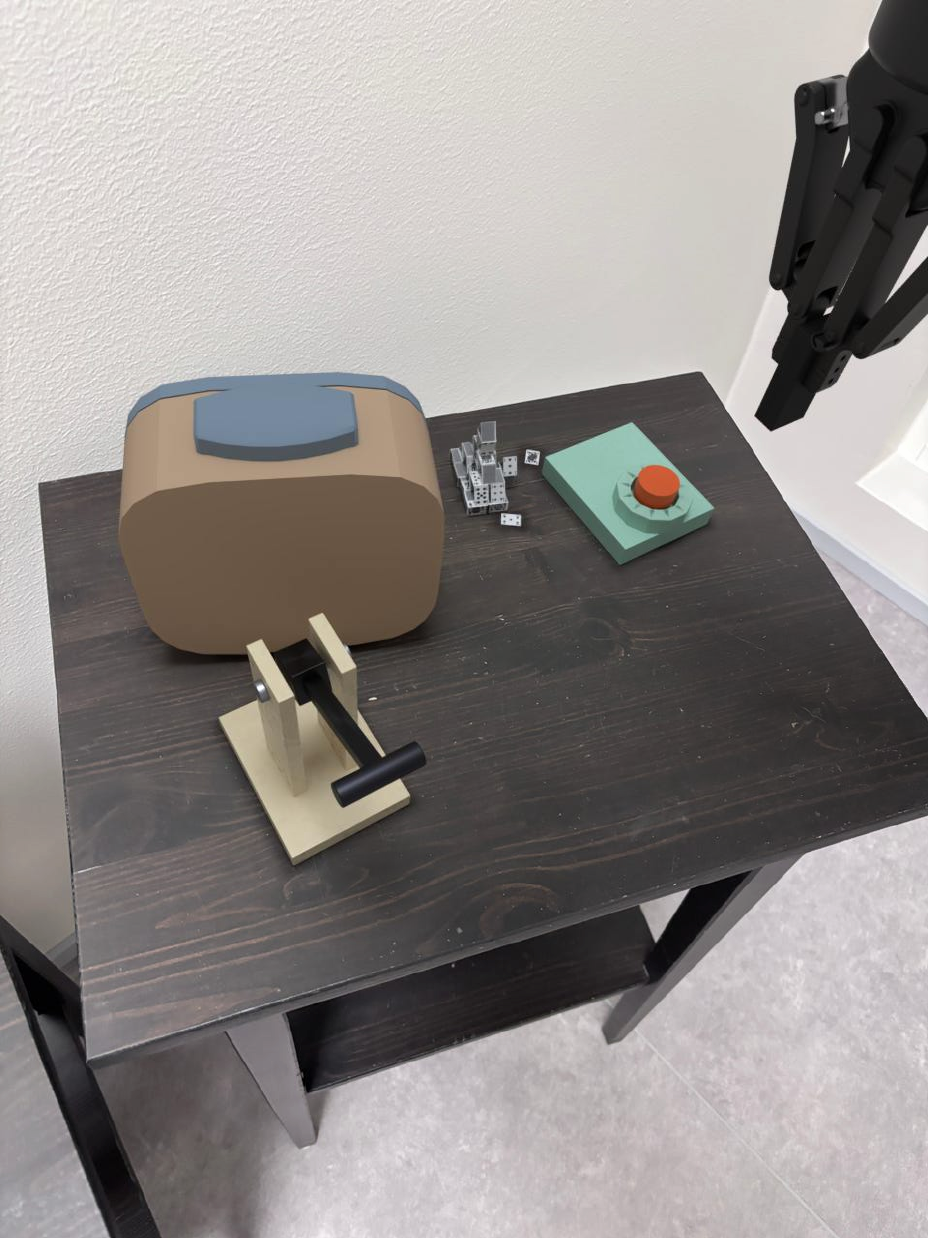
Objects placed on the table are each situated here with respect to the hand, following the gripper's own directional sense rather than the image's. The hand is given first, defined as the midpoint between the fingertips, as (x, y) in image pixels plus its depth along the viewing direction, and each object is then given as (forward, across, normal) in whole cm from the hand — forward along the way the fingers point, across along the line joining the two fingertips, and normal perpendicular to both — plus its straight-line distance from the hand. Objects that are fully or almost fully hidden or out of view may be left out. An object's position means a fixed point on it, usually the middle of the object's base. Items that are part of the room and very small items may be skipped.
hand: (778, 416), depth 55 cm
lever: (+11, -1, +30) cm, 32 cm away
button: (+21, +11, -6) cm, 24 cm away
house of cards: (+25, +20, +3) cm, 32 cm away
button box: (+24, +14, -6) cm, 29 cm away
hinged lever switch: (+24, +4, +30) cm, 39 cm away
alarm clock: (+25, +17, +25) cm, 39 cm away
